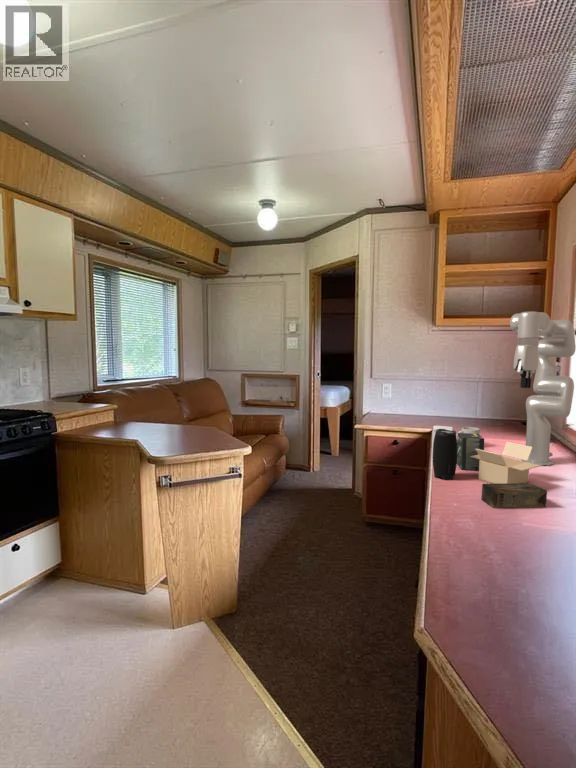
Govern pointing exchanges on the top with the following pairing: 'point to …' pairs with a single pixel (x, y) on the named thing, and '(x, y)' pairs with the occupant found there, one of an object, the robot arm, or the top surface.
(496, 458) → the flap
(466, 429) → the mug
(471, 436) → the tampon box
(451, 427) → the supplement box
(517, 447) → the flap
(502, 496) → the beverage carton
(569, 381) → the robot arm
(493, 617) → the top surface
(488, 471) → the carton
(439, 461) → the portable speaker
